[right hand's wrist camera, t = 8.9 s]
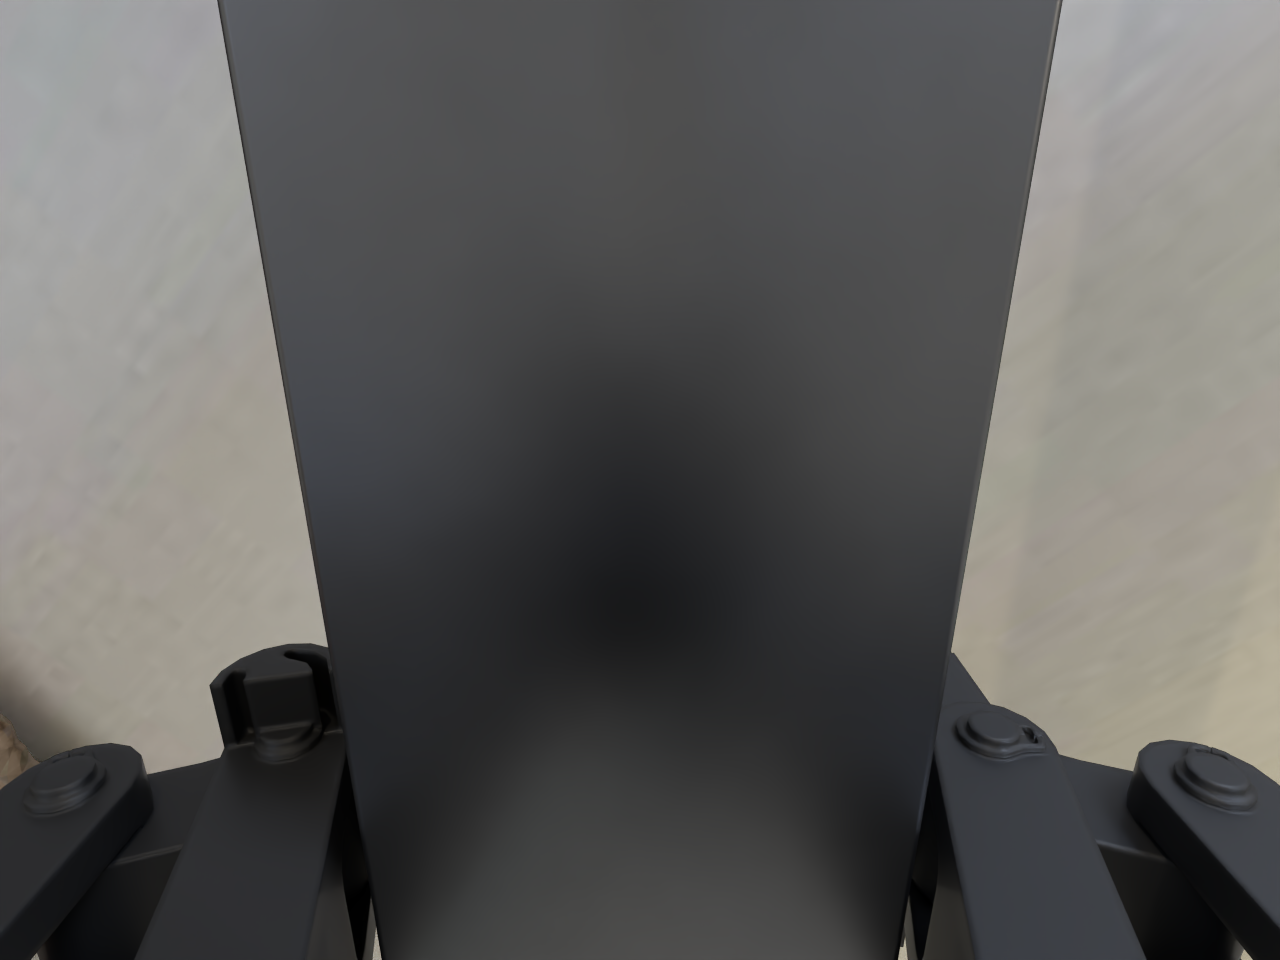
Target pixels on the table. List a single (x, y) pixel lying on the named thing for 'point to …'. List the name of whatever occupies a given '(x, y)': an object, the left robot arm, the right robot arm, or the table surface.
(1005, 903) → the right robot arm
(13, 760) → the stone
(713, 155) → the bar
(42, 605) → the table surface
